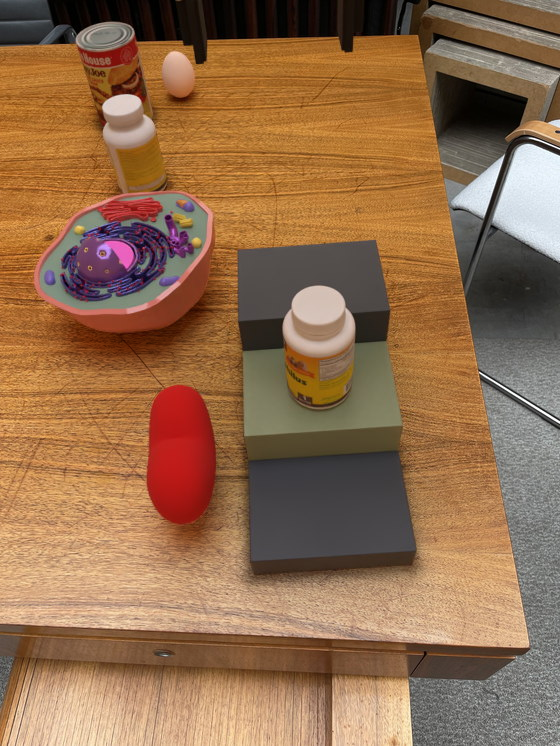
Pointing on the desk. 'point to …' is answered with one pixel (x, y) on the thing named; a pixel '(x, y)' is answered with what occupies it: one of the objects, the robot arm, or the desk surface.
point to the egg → (178, 74)
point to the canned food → (112, 64)
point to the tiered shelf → (321, 421)
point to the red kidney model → (180, 455)
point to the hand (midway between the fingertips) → (273, 48)
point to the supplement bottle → (319, 348)
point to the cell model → (130, 261)
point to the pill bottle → (133, 146)
